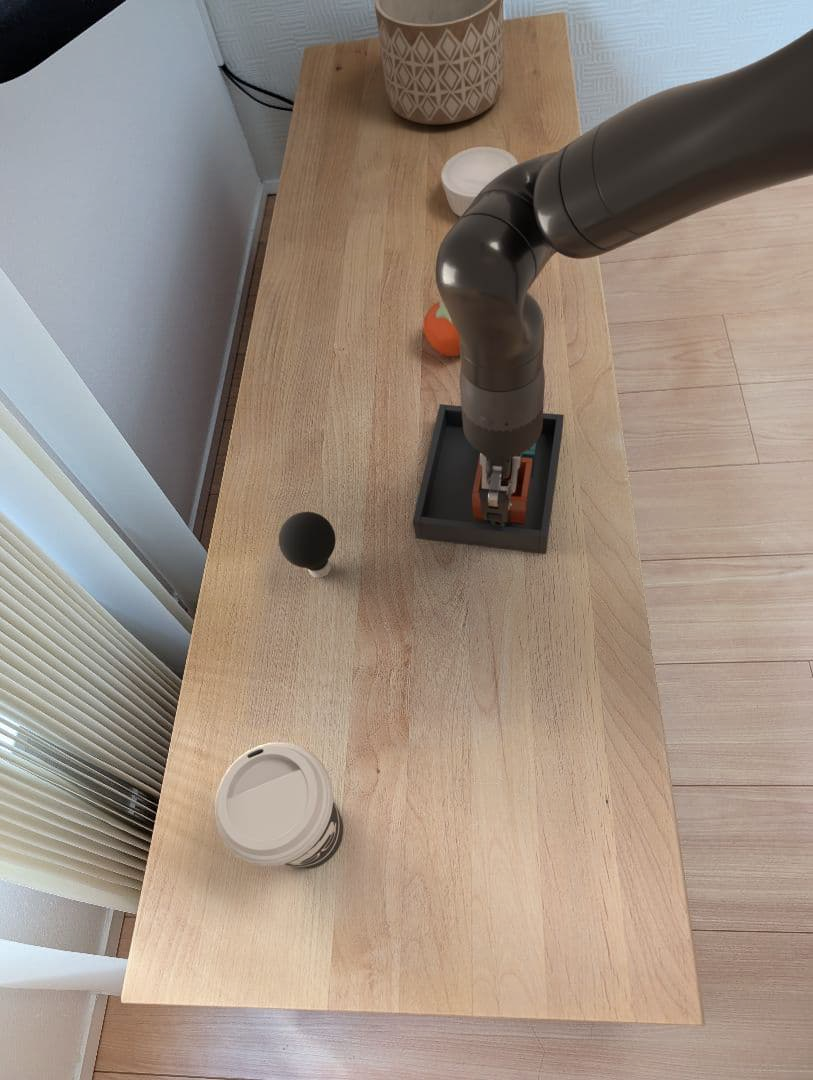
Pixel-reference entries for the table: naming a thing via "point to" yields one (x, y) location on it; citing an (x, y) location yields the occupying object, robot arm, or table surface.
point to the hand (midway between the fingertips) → (503, 497)
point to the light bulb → (308, 542)
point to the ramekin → (472, 174)
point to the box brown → (517, 498)
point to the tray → (452, 482)
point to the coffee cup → (279, 808)
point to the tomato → (441, 331)
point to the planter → (441, 57)
